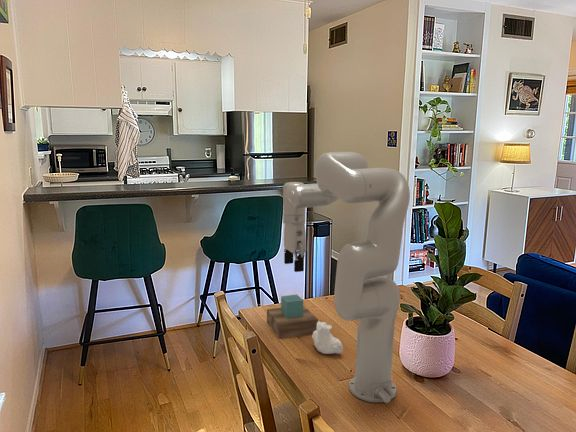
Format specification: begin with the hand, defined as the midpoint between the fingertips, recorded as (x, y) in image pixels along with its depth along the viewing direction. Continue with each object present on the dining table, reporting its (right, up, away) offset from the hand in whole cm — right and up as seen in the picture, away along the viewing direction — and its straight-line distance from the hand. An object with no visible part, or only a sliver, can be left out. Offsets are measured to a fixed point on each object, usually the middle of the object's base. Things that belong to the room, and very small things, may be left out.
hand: (293, 267), depth 158 cm
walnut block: (-1, -22, +4) cm, 22 cm away
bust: (+10, -26, -13) cm, 30 cm away
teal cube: (-1, -17, +3) cm, 17 cm away
